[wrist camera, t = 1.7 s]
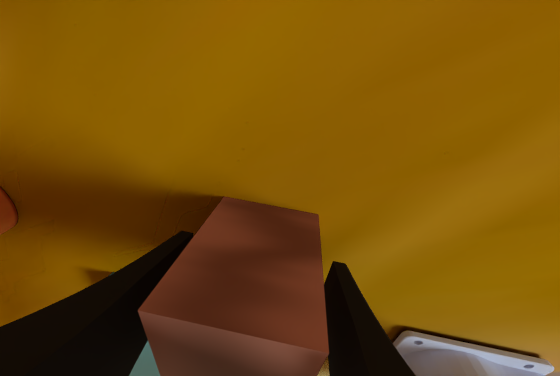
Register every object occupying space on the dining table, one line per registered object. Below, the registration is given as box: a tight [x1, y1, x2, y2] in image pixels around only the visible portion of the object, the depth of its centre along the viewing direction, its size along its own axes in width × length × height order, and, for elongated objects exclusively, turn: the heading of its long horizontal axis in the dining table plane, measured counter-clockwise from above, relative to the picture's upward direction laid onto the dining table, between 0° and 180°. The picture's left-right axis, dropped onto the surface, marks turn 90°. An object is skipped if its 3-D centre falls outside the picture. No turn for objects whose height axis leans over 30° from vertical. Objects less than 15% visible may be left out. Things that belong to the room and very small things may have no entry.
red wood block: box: [138, 197, 329, 376], centre depth 9 cm, size 5×5×6 cm
